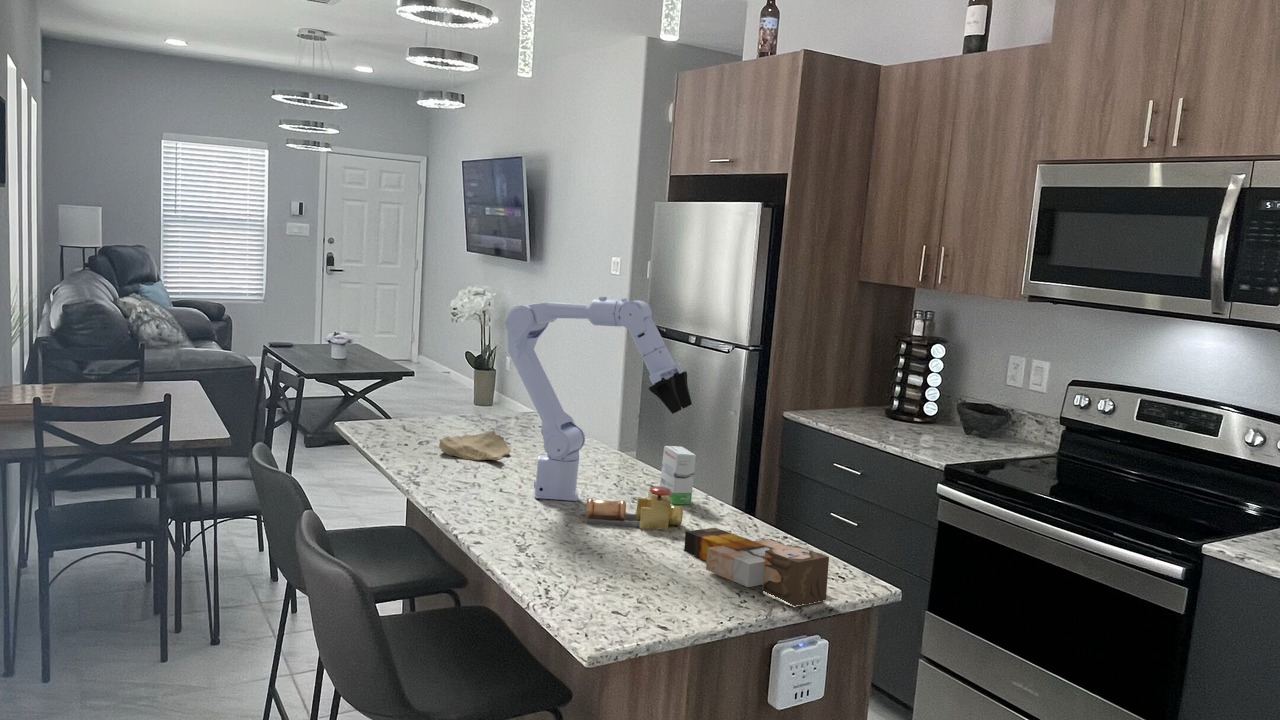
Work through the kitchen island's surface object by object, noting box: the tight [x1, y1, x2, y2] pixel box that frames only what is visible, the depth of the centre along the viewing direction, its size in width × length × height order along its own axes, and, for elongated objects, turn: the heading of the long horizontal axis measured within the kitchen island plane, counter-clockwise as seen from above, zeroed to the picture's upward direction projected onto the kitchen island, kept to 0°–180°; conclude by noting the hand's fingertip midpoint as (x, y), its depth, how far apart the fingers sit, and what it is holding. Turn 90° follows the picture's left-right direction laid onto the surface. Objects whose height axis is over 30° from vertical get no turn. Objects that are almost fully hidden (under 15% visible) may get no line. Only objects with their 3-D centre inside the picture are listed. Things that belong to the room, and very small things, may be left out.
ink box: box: [659, 445, 697, 505], centre depth 217 cm, size 9×5×12 cm, turn 22°
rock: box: [438, 430, 512, 462], centre depth 239 cm, size 18×15×4 cm
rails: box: [585, 512, 640, 528], centre depth 196 cm, size 11×6×1 cm, turn 97°
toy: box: [683, 527, 830, 606], centre depth 172 cm, size 15×8×30 cm
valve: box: [635, 485, 684, 530], centre depth 196 cm, size 9×8×8 cm
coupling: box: [584, 497, 627, 521], centre depth 195 cm, size 8×4×4 cm, turn 97°
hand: (682, 409), depth 199 cm, fingers open, 7 cm apart
